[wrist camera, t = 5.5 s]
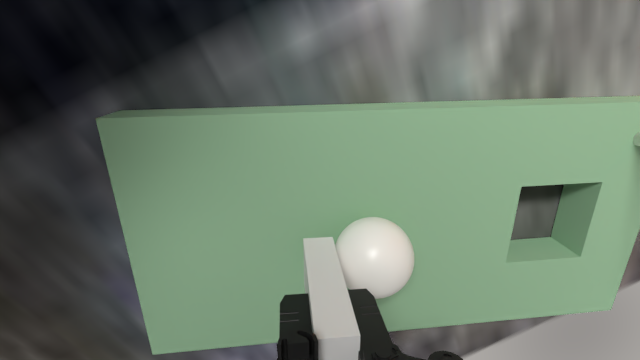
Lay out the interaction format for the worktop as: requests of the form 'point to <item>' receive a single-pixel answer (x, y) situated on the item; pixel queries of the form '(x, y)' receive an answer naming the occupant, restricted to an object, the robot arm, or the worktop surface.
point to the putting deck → (371, 207)
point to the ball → (375, 256)
